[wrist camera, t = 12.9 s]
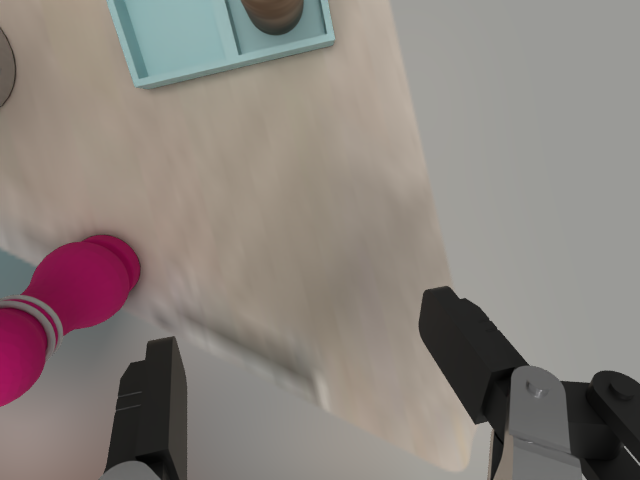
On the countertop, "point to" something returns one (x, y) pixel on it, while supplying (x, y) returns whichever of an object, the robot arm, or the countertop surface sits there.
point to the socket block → (206, 37)
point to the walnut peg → (274, 14)
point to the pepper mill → (61, 306)
